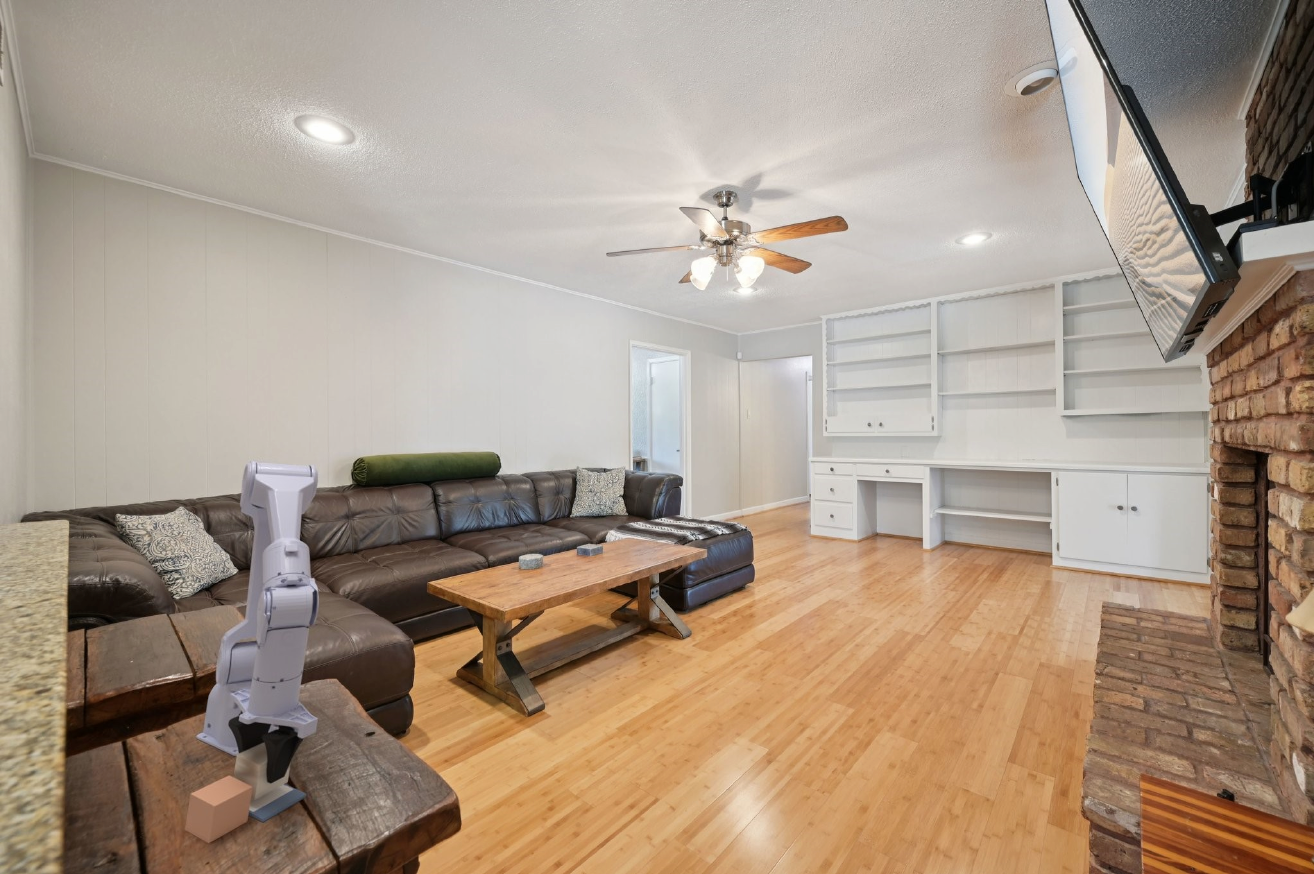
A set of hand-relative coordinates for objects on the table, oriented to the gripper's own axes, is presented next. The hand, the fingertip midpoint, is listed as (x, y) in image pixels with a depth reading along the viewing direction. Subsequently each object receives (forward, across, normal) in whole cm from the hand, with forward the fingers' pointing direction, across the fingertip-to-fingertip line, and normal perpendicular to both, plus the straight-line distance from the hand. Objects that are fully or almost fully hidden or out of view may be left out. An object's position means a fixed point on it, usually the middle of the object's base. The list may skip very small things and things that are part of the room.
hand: (263, 773), depth 75 cm
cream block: (+2, 0, 0) cm, 2 cm away
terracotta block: (+3, +1, -6) cm, 7 cm away
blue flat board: (+3, 0, 0) cm, 3 cm away
